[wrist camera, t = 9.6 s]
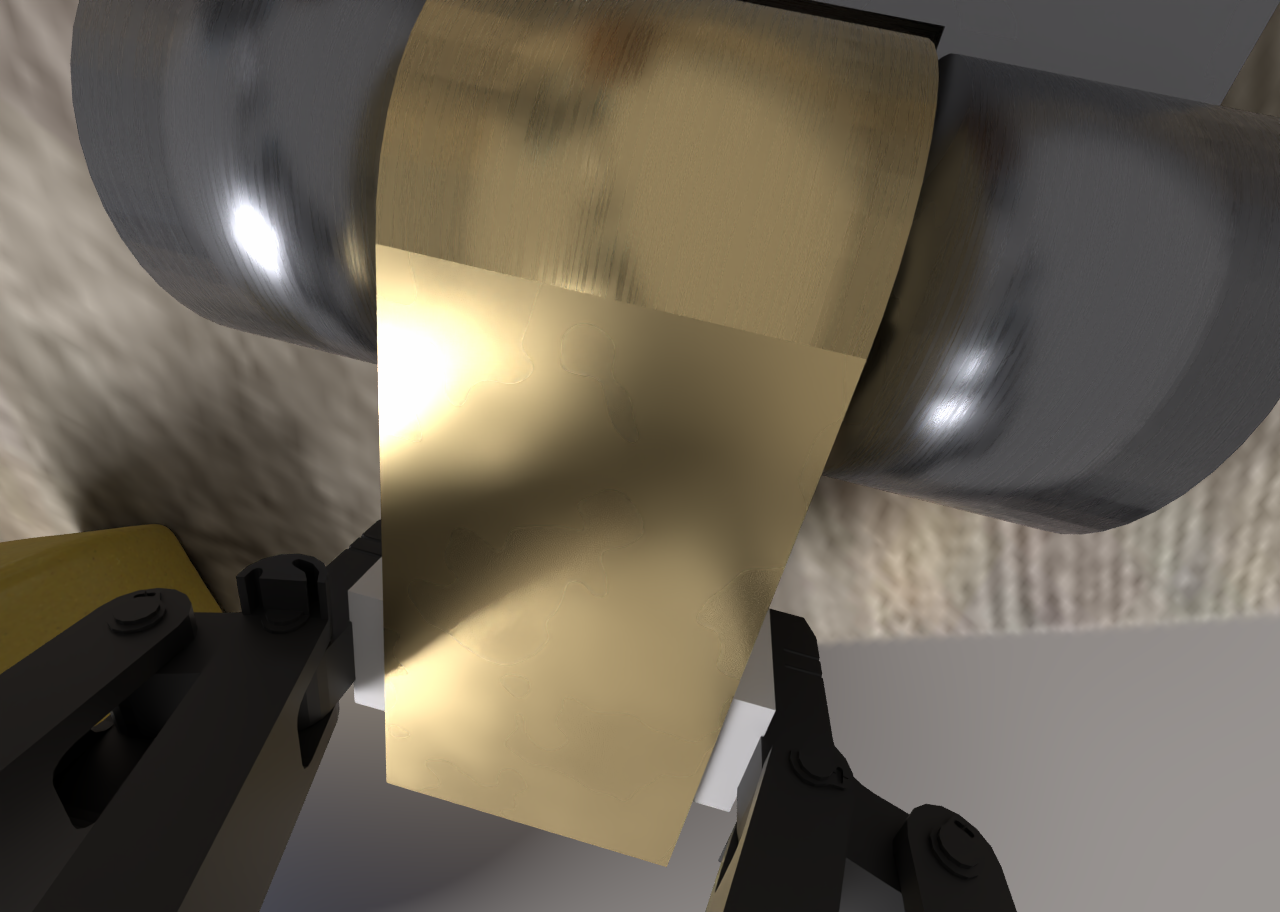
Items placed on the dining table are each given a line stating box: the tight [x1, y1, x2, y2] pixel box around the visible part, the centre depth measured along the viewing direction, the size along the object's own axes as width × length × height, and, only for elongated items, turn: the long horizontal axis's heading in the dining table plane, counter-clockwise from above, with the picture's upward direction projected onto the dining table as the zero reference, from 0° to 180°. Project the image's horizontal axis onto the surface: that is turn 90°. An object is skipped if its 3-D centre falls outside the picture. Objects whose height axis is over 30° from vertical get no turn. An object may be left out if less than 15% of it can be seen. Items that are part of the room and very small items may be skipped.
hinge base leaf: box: [70, 0, 1280, 534], centre depth 9 cm, size 12×16×7 cm
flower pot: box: [0, 524, 223, 725], centre depth 18 cm, size 9×9×9 cm
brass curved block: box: [376, 0, 939, 867], centre depth 11 cm, size 14×6×7 cm, turn 169°
